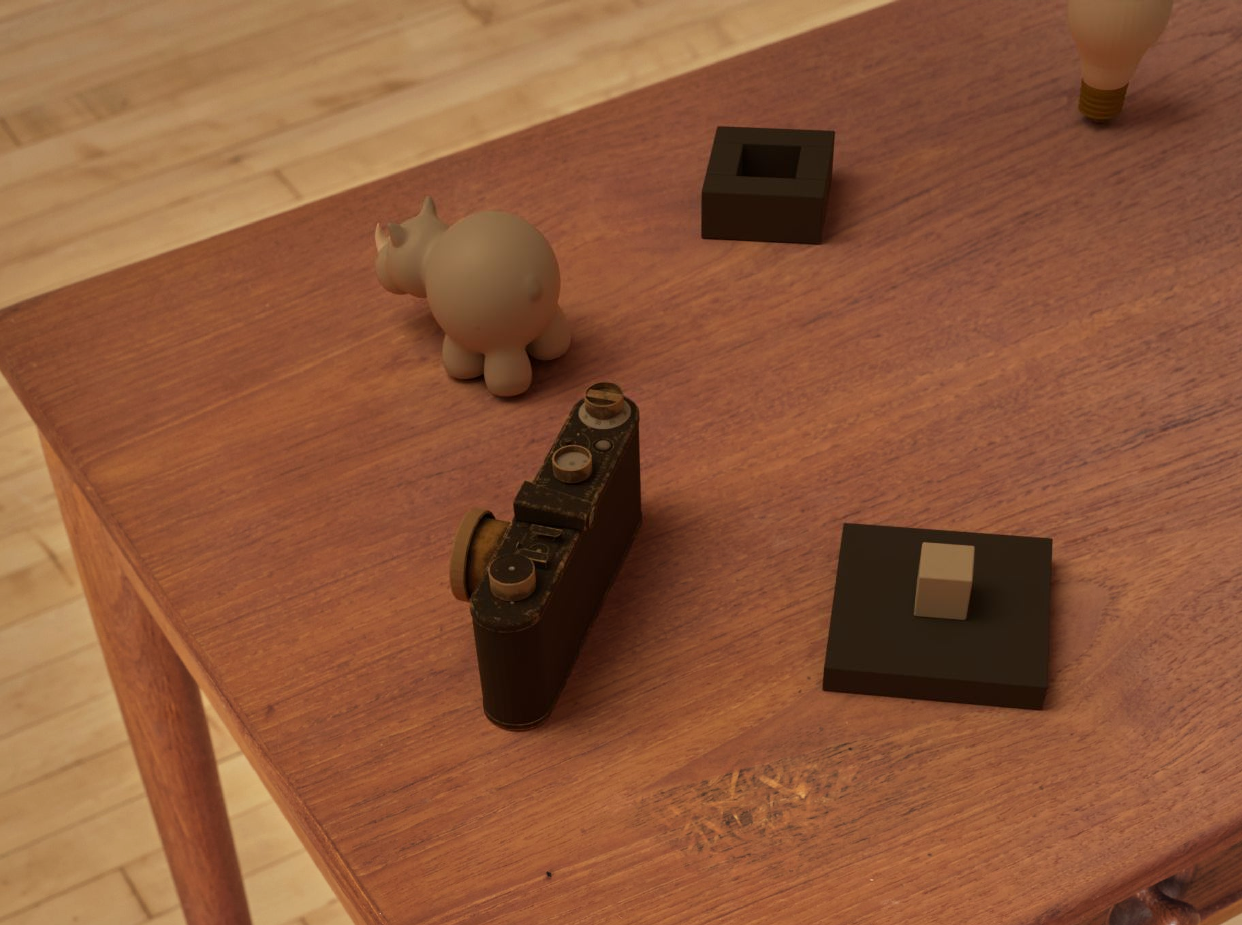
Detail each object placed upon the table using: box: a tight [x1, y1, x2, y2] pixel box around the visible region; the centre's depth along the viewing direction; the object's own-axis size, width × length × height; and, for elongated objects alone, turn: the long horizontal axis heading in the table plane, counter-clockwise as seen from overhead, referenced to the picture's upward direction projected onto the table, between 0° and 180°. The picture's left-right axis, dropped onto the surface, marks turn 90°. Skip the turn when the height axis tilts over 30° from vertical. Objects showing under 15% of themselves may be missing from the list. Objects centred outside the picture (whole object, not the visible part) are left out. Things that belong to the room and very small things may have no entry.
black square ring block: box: [700, 125, 836, 245], centre depth 106 cm, size 7×7×3 cm
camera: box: [448, 381, 643, 731], centre depth 85 cm, size 16×7×8 cm, turn 160°
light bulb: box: [1066, 0, 1174, 124], centre depth 107 cm, size 6×6×10 cm
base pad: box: [821, 522, 1054, 711], centre depth 85 cm, size 10×10×4 cm
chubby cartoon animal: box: [373, 194, 571, 397], centre depth 98 cm, size 7×12×8 cm, turn 50°
